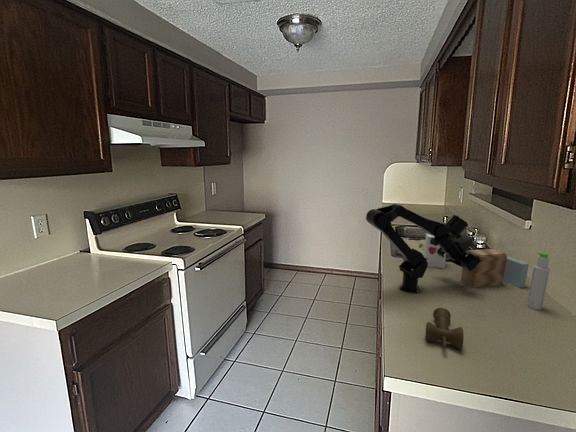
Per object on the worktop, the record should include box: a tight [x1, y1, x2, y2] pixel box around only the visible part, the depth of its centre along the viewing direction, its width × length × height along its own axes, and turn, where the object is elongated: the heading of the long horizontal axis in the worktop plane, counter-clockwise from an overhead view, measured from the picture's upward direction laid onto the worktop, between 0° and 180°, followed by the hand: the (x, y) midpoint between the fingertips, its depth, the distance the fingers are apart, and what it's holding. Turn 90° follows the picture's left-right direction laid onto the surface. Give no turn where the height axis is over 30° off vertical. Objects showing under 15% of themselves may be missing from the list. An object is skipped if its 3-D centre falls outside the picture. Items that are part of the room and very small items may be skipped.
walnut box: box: [460, 248, 508, 288], centre depth 133 cm, size 14×7×14 cm, turn 101°
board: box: [503, 255, 529, 289], centre depth 136 cm, size 3×14×10 cm, turn 12°
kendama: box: [424, 307, 465, 351], centre depth 94 cm, size 6×10×20 cm
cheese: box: [402, 237, 425, 255], centre depth 167 cm, size 15×7×15 cm
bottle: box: [526, 252, 550, 311], centre depth 112 cm, size 4×4×20 cm
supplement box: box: [423, 233, 447, 269], centre depth 154 cm, size 9×9×15 cm
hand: (468, 268), depth 131 cm, fingers closed, pressing on walnut box
